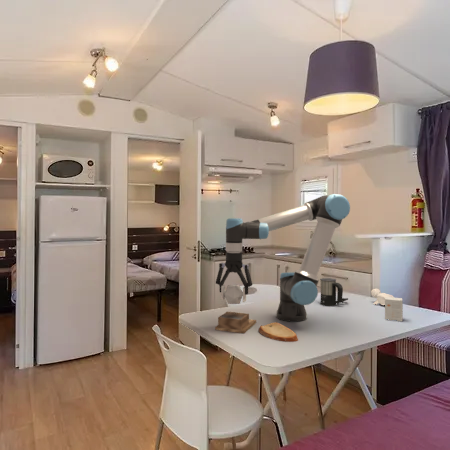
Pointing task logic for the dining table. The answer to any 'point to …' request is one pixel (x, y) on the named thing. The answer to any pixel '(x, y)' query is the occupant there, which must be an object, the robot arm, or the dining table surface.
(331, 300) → the milk frother
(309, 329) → the dining table surface
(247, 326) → the wooden box on base
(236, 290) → the die
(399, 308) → the small box
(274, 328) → the slice of bread
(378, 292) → the cream doll figurine
